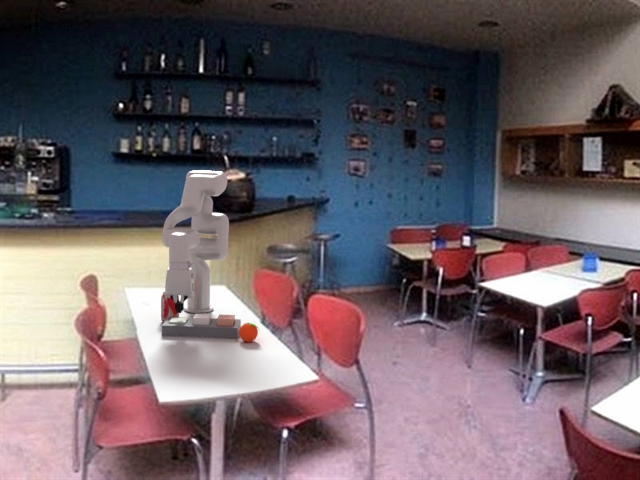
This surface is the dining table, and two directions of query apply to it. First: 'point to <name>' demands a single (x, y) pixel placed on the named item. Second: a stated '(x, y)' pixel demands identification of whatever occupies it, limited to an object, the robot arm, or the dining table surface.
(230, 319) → the key terracotta
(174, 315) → the soda can
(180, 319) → the key sage
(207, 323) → the key offwhite
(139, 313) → the dining table surface
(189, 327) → the keypad console
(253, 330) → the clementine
